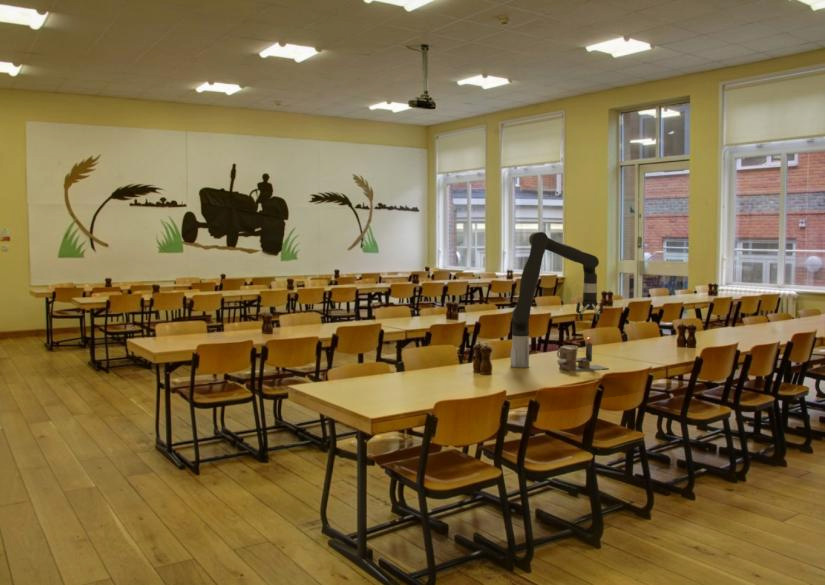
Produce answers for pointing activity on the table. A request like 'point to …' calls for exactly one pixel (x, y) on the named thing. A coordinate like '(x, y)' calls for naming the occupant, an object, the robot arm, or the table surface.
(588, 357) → the hook rod
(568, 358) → the grey upright block
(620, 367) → the table surface
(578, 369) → the mat
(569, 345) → the mug
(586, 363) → the saddle
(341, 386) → the table surface
